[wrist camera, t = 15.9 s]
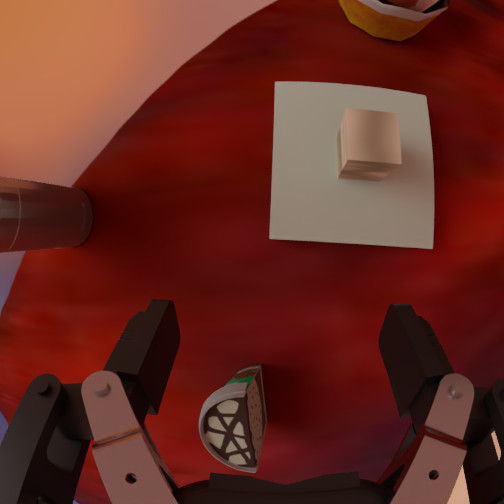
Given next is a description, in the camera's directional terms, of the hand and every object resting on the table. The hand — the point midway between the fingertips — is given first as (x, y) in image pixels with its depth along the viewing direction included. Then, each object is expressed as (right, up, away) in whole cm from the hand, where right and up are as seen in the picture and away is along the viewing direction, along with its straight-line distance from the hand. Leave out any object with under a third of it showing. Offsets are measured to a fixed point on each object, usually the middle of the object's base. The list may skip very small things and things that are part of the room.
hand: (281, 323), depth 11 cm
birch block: (+10, +12, +18) cm, 24 cm away
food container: (-2, -17, +26) cm, 31 cm away
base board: (+11, +13, +22) cm, 28 cm away
